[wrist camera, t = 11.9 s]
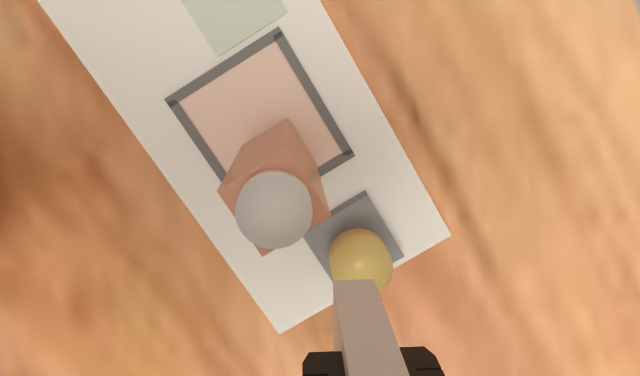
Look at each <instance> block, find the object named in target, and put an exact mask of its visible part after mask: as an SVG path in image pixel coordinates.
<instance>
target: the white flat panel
mask: <svg viewBox="0 0 640 376" xmlns="http://www.w3.org/2000/svg"><path fill="white" fill-rule="evenodd" d="M37 1H38V2H39V4H40V5H41V7H42V8H43V9H44V11H45V12H46V13H47V15H48V16H49V18H50V19H51V20H52V22H53V23H54V25H55V26H56V27H57V29H58V30H59V31H60V33H61V34H62V36H63V37H64V38H65V40H66V41H67V42H68V44H69V45H70V47H71V48H72V49H73V51H74V52H75V54H76V55H77V56H78V58H79V59H80V60H81V62H82V63H83V65H84V66H85V67H86V69H87V70H88V71H89V73H90V74H91V76H92V77H93V78H94V80H95V81H96V83H97V84H98V85H99V87H100V88H101V89H102V91H103V92H104V94H105V95H106V96H107V98H108V99H109V100H110V102H111V103H112V105H113V106H114V107H115V109H116V110H117V112H118V113H119V114H120V116H121V117H122V118H123V120H124V121H125V123H126V124H127V125H128V127H129V128H130V129H131V131H132V132H133V134H134V135H135V136H136V138H137V139H138V140H139V142H140V143H141V145H142V146H143V147H144V149H145V150H146V152H147V153H148V154H149V156H150V157H151V158H152V160H153V161H154V163H155V164H156V165H157V167H158V168H159V169H160V171H161V172H162V174H163V175H164V176H165V178H166V179H167V181H168V182H169V183H170V185H171V186H172V187H173V189H174V190H175V192H176V193H177V194H178V196H179V197H180V198H181V200H182V201H183V203H184V204H185V205H186V207H187V208H188V210H189V211H190V212H191V214H192V215H193V216H194V218H195V219H196V221H197V222H198V223H199V225H200V226H201V227H202V229H203V230H204V232H205V233H206V234H207V236H208V237H209V239H210V240H211V241H212V243H213V244H214V245H215V247H216V248H217V250H218V251H219V252H220V254H221V255H222V256H223V258H224V259H225V261H226V262H227V263H228V265H229V266H230V267H231V269H232V270H233V272H234V273H235V274H236V276H237V277H238V279H239V280H240V281H241V283H242V284H243V285H244V287H245V288H246V290H247V291H248V292H249V294H250V295H251V296H252V298H253V299H254V301H255V302H256V303H257V305H258V306H259V308H260V309H261V310H262V312H263V313H264V314H265V316H266V317H267V319H268V320H269V321H270V323H271V324H272V325H273V327H274V328H275V330H276V331H277V332H278V334H281V333H283V332H285V331H286V330H288V329H290V328H292V327H293V326H295V325H297V324H299V323H300V322H302V321H304V320H306V319H307V318H309V317H311V316H312V315H314V314H316V313H318V312H319V311H321V310H323V309H325V308H326V307H328V306H330V305H332V304H333V278H332V274H331V269H330V264H329V250H330V247H331V245H332V243H333V241H334V240H335V239H336V238H337V237H338V236H339V235H340V234H342V233H343V232H345V231H347V230H350V229H356V228H362V229H367V230H370V231H372V232H374V233H375V234H377V235H378V236H379V237H380V238H381V240H382V241H383V243H384V245H385V247H386V249H387V251H388V252H389V254H390V256H391V259H392V263H393V269H394V268H396V267H397V266H399V265H401V264H403V263H404V262H406V261H408V260H410V259H411V258H413V257H415V256H417V255H418V254H420V253H422V252H423V251H425V250H427V249H429V248H430V247H432V246H434V245H436V244H437V243H439V242H441V241H443V240H444V239H446V238H448V237H450V236H451V233H450V232H449V230H448V228H447V226H446V224H445V223H444V221H443V219H442V217H441V215H440V214H439V212H438V210H437V208H436V207H435V205H434V203H433V201H432V199H431V198H430V196H429V194H428V192H427V190H426V189H425V187H424V185H423V183H422V182H421V180H420V178H419V176H418V174H417V173H416V171H415V169H414V167H413V165H412V164H411V162H410V160H409V158H408V157H407V155H406V153H405V151H404V149H403V148H402V146H401V144H400V142H399V140H398V139H397V137H396V135H395V133H394V131H393V130H392V128H391V126H390V124H389V123H388V121H387V119H386V117H385V115H384V114H383V112H382V110H381V108H380V106H379V105H378V103H377V101H376V99H375V98H374V96H373V94H372V92H371V90H370V89H369V87H368V85H367V83H366V81H365V80H364V78H363V76H362V74H361V72H360V71H359V69H358V67H357V65H356V64H355V62H354V60H353V58H352V56H351V55H350V53H349V51H348V49H347V47H346V46H345V44H344V42H343V40H342V39H341V37H340V35H339V33H338V31H337V30H336V28H335V26H334V24H333V22H332V21H331V19H330V17H329V15H328V14H327V12H326V10H325V8H324V6H323V5H322V3H321V1H320V0H37ZM286 118H289V120H290V121H291V123H292V125H293V126H294V128H295V129H296V131H297V133H298V134H299V136H300V138H301V139H302V141H303V142H304V144H305V146H306V147H307V149H308V150H309V152H310V154H311V155H312V157H313V158H314V160H315V162H316V164H317V168H318V171H319V175H320V178H321V182H322V185H323V189H324V192H325V196H326V199H327V203H328V207H329V210H330V214H331V217H329V218H327V219H326V220H324V221H322V222H321V223H319V224H317V225H315V226H314V227H312V228H310V229H309V230H308V231H307V232H306V234H305V235H304V236H303V237H302V238H301V239H300V240H299V241H297V242H296V243H294V244H293V245H291V246H288V247H285V248H281V249H275V250H273V251H272V252H270V253H268V254H267V255H265V256H263V257H262V256H261V254H260V253H259V251H258V250H257V249H256V247H255V246H254V244H253V243H252V242H250V241H249V240H248V239H247V238H246V237H245V236H244V235H243V234H242V233H241V231H240V229H239V228H238V225H237V223H236V219H235V217H234V216H233V214H232V213H231V211H230V210H229V208H228V207H227V205H226V204H225V203H224V201H223V200H222V198H221V197H220V195H219V194H218V193H217V190H218V188H219V186H220V184H221V183H222V181H223V179H224V177H225V175H226V174H227V172H228V170H229V168H230V166H231V165H232V163H233V161H234V159H235V157H236V156H237V154H238V152H239V150H240V148H241V147H242V145H244V144H245V143H247V142H249V141H250V140H252V139H254V138H255V137H257V136H258V135H260V134H262V133H263V132H265V131H267V130H268V129H270V128H271V127H273V126H275V125H276V124H278V123H279V122H281V121H283V120H284V119H286Z"/></svg>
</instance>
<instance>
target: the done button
mask: <svg viewBox="0 0 640 376" xmlns="http://www.w3.org/2000/svg"><path fill="white" fill-rule="evenodd" d="M329 264H330V269H331V274H332V278H333V281H334V280H362V279H374V281H375V283H376V286H377V289H378V291H379V292H380V291H381V290H382V289H383V288H384V287H385V286H386V285H387V284H388V282H389V281H390V279H391V276H392V272H393V263H392V259H391V256H390V254H389V252H388V251H387V249H386V247H385V245H384V243H383V241H382V240H381V238H380V237H379V236H378V235H377V234H375V233H374V232H372V231H370V230H367V229H362V228H356V229H350V230H347V231H345V232H343V233H342V234H340V235H339V236H338V237H337V238H336V239H335V240H334V241H333V243H332V245H331V247H330V250H329Z"/></svg>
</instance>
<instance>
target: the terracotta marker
mask: <svg viewBox="0 0 640 376" xmlns="http://www.w3.org/2000/svg"><path fill="white" fill-rule="evenodd" d="M217 193H218V194H219V195H220V197H221V198H222V200H223V201H224V203H225V204H226V205H227V207H228V208H229V210H230V211H231V213H232V214H233V216H234V217H235V219H236V223H237V225H238V228H239V229H240V231H241V233H242V234H243V235H244V236H245V237H246V238H247V239H248V240H249V241H250V242H252V243H253V244H254V246H255V247H256V249H257V250H258V251H259V253H260V254H261V256H262V257H263V256H265V255H267V254H268V253H270V252H272V251H273V250H275V249H281V248H285V247H288V246H291V245H293V244H294V243H296V242H297V241H299V240H300V239H301V238H302V237H303V236H304V235H305V234H306V232H307V231H308V230H309V229H310V228H312V227H314V226H315V225H317V224H319V223H321V222H322V221H324V220H326V219H327V218H329V217H331V214H330V210H329V207H328V203H327V199H326V196H325V192H324V189H323V185H322V182H321V178H320V175H319V171H318V168H317V164H316V162H315V160H314V158H313V157H312V155H311V154H310V152H309V150H308V149H307V147H306V146H305V144H304V142H303V141H302V139H301V138H300V136H299V134H298V133H297V131H296V129H295V128H294V126H293V125H292V123H291V121H290V120H289V118H286V119H284V120H283V121H281V122H279V123H278V124H276V125H275V126H273V127H271V128H270V129H268V130H267V131H265V132H263V133H262V134H260V135H258V136H257V137H255V138H254V139H252V140H250V141H249V142H247V143H245V144H244V145H242V147H241V148H240V150H239V152H238V154H237V156H236V157H235V159H234V161H233V163H232V165H231V166H230V168H229V170H228V172H227V174H226V175H225V177H224V179H223V181H222V183H221V184H220V186H219V188H218V190H217Z"/></svg>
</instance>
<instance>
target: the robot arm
mask: <svg viewBox="0 0 640 376" xmlns="http://www.w3.org/2000/svg"><path fill="white" fill-rule="evenodd" d="M333 334H334V351H332V352H309V353H308V355H307V357H306V358H305V360H304V361H303V376H445V375H444V373H443V371H442V370H441V367H440V365H439V362H438V360H437V358H436V356H435V355H434V354H432V353H431V352H430V351H429V350H428V349H426V348H425V347H424V346H423V347H399V345H398V343H397V340H396V337H395V335H394V332H393V329H392V327H391V324H390V321H389V318H388V316H387V313H386V310H385V308H384V305H383V302H382V299H381V297H380V294H379V291H378V289H377V286H376V283H375V281H374V279H362V280H334V281H333Z"/></svg>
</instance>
